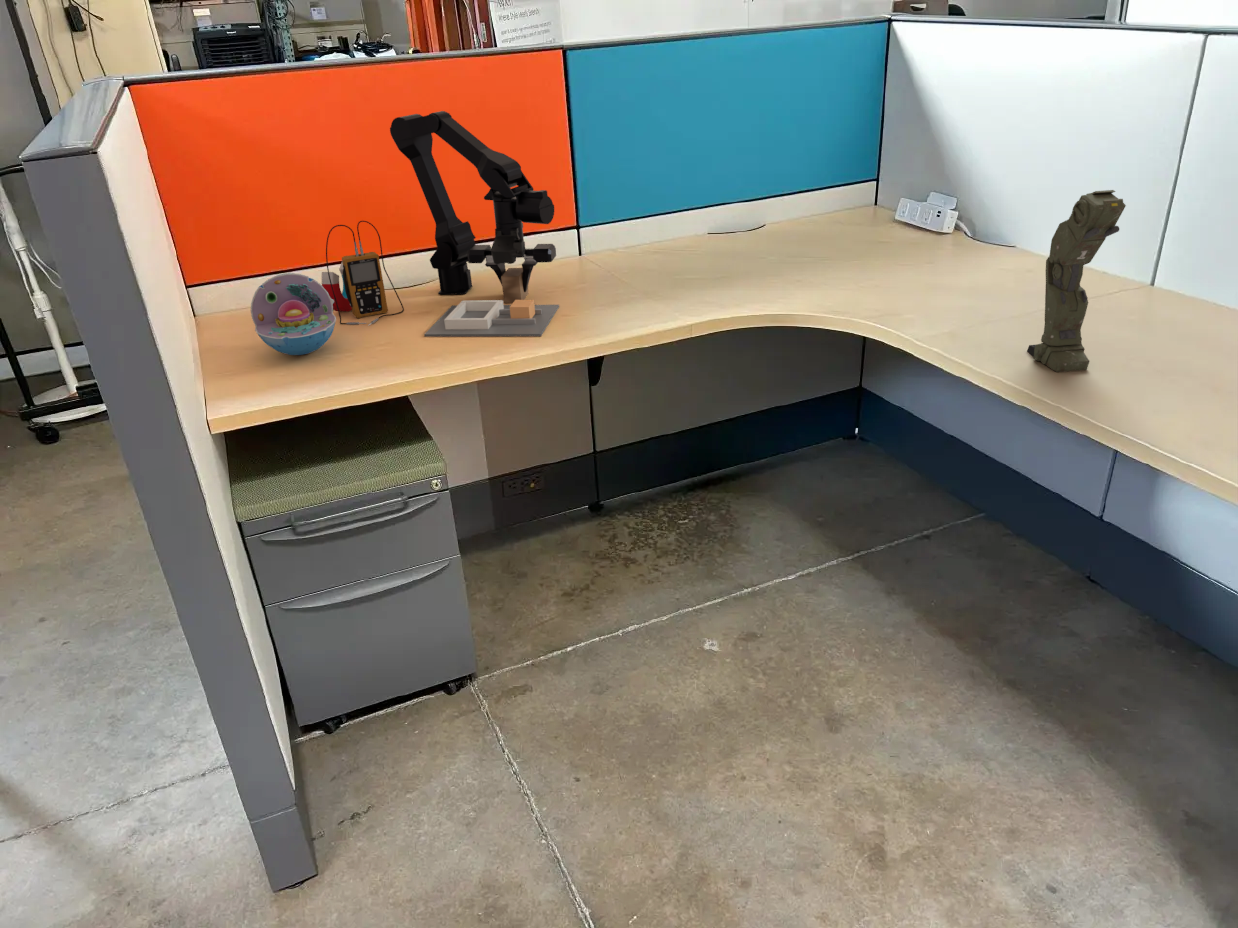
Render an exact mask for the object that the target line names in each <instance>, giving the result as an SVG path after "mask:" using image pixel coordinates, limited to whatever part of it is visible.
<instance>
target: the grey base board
mask: <svg viewBox="0 0 1238 928" xmlns="http://www.w3.org/2000/svg"><path fill="white" fill-rule="evenodd" d="M511 305H512V304H504V299H500V300H499V299H497V300H496V299H492V300H491V299H490V300H489V299H488V300H487V299H486V300H485V299H484V300H483V299H481V300H480V299H479V300H472V299H471V300H461V301H460V302H459V303H458V304H453V305H451V306H449V308H448V309H446V311H445V312H444V313H443V314H442V315H441V316H440V317H439V318H438V320H436V321H435V323H434V324H432V325H431V327H429V329H427V331H425V332H424V337H427V338H428V337H429V338H430V337H433V338H434V337H437V338H438V337H442V338H443V337H448V338H449V337H457V338H458V337H459V338H460V337H462V338H463V337H465V338H466V337H468V338H469V337H542V336H543V334H544V333H545V331H546V329H547V328H548V326H549V324H550V323H551V320H552V319H553V318H554V316H555V314H556V313H557V312H558V309H559V308H560V304H534V305H535V315H534V316H533V318H511V315H510V306H511Z"/></svg>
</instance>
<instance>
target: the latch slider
mask: <svg viewBox="0 0 1238 928" xmlns="http://www.w3.org/2000/svg"><path fill="white" fill-rule="evenodd" d="M510 305H511V306H510V315H511V318H533V316H534V315H535V305H536V304H535V299H524V300H515V301H514V302H513V303H511V304H510Z"/></svg>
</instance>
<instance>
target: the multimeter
mask: <svg viewBox="0 0 1238 928" xmlns="http://www.w3.org/2000/svg"><path fill="white" fill-rule="evenodd" d="M363 222H364V223H367V224H369V225H370V226H372V227H373V228H374V230H375V231H376V234H377V236H378V239H379V246H380V256H381V262H382V266H383V270H384V272H385V275H386V276H387V278H388V280H389V282H390V284H391V287H392V288H393V291H394V293H395V295H396V297H397V300H398V301H399V303H400V306H401V308H402V310H401V311H399V312H396V313H391V314H387V313H388V311H389V309H388V305H387V298H386V290H385V285H384V279H383V274H382V268H381V262H380V256H379V254H378V253H376V252H375V251H369V252H364V249H363V247H362V241H361V236H360V232H359V225H360V223H363ZM336 227H345V228H347V229H348V230H350V232H351V233H352V237H353V244H354V252H355V254H351V255H343V257H341V263H342V262H343V279H342V281H343V280H344V286H345V291H346V295H347V298H348V301H349V303H350V306H351V308H352V310H351V312H352V315H353V316H354V318H357V319H362V317H363V318H364V317H369V316H375V315H379V314H380V316H379V317H377V318H375V319H373V320H372V321H370V323H369V324H368V325H367V326H370V325H374V324H375V323H376V322H378V321H379V319H380V318H383V317H388V316H396V315H399V314H401V313H404V310H405V307H404V306H403V303H402V301H401V299H400V296H399V295H398V292H397V291H396V288H395V287H394V286H395V285H393V282H392V280H391V278H390V276H389V275H388V272H387V270H386V267H385V264H384V257H383V256H384V255H383V247H382V241H381V236H380V234H379V232H378V229H377V228H376V227H375V226H374V225H373V224H372V223H371V222H370V221H366V220H360V221H358V223H357V226H356V228H357V236H358V243H359V249H358V247H357V246H358V245H357V242H356V237H355V233H354V231H353V229H352V228H351V227H349V226H348V225H346V224H336V225H334V226H332V227H331V228H330V230H329V231H328V234H327V238H326V244H325V260H326V269H327V272H328V276H329V280H330V284H331V288H332V291H333V295H334V298H335V302H336V305H337V309H338V311H337V312H338V315H339V325H350V326H351V325H357V326H359V325H362V324H363V325H365V324H367V322H358V321H355V322H353V321H351V322H342V317H341V313H340V312H339V308H338V304H337V301H336V297H335V294H334V290H333V287H332V283H331V279H330V275H329V272H330V270H329V264H328V263H329V262H328V245H329V238H330V234H331V232H332V231H333V229H335V228H336ZM359 251H360V252H359ZM381 314H382V315H381Z"/></svg>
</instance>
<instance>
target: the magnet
mask: <svg viewBox="0 0 1238 928" xmlns="http://www.w3.org/2000/svg"><path fill="white" fill-rule="evenodd" d="M338 269H339V273H340V275H341V279H342V291H341V286H340V275H339V274H337V273H336V272H333V271H329V275H330V279H331V283H332V287H333V290H334V294H335V297H336V301H337V304H338V308H339V312H343V313H345V312H348V313H349V312H352V308H351V306H350V303H349V301H348V298H347V295H346V291H345V286H344V280H343V262H342V261H341V263H340V266H339V268H338ZM321 285H322V286H323V287H324V289H325V290H326V291H327V292H328V294H329V296H330V298H331V299H333V300H334V303H333V312H338V309H337V305H336V302H335V298H334V295H333V291H332V288H331V284H330V280H329V276H328V271H321ZM339 312H338V313H339Z"/></svg>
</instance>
